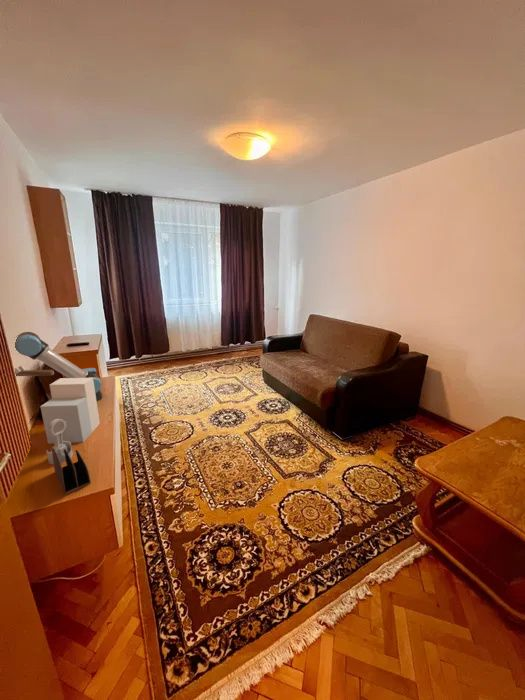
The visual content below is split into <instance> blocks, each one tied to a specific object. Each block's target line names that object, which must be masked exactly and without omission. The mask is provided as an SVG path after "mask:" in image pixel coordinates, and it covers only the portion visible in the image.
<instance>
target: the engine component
mask: <svg viewBox="0 0 525 700" xmlns="http://www.w3.org/2000/svg"><path fill="white" fill-rule="evenodd" d="M57 422H60V423H61V428H60V430H59V431H58V432H57V433H54V432H53V427H54V425H55V424H56V423H57ZM65 428H66V421H64V420H62V419H55V420H53V421H52V422H51V423H50V425H49V427H48V429H47V431H48V436H50V435H52V436H54V443H53V444H54V446H52V447H51V448H50V450H51V451H50V452H49V451H48V449H46V451H45V452H46V456H47V460H48V463H49V464H50V465H54V462H53V455H52V448H54V450H55V452H56V454H57V456H58V458H59V461H60V463H61V464H63V463H66V459H65V454H64V449H65V450H66V451H67V453H68V454H69V456H70V458H71V459H72V457H73V456H74V453H73V448H72V447H73V446H72V443H71V442H69V441H63V438H62V433H63V432H64V430H65Z"/></svg>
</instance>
